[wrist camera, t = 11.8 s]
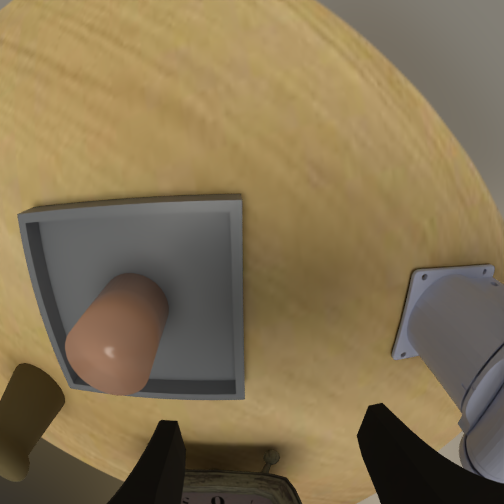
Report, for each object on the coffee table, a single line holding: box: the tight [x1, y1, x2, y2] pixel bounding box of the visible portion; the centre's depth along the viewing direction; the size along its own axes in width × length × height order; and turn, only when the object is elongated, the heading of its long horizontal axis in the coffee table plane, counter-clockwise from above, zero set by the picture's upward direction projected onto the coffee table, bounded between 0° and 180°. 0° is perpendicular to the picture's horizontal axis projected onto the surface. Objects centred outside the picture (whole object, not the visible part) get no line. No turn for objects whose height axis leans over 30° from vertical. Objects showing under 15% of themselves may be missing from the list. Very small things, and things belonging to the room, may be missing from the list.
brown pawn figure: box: [0, 363, 65, 482], centre depth 17 cm, size 6×6×11 cm
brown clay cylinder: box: [65, 273, 169, 395], centre depth 16 cm, size 5×5×6 cm
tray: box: [17, 194, 245, 400], centre depth 18 cm, size 14×14×2 cm
